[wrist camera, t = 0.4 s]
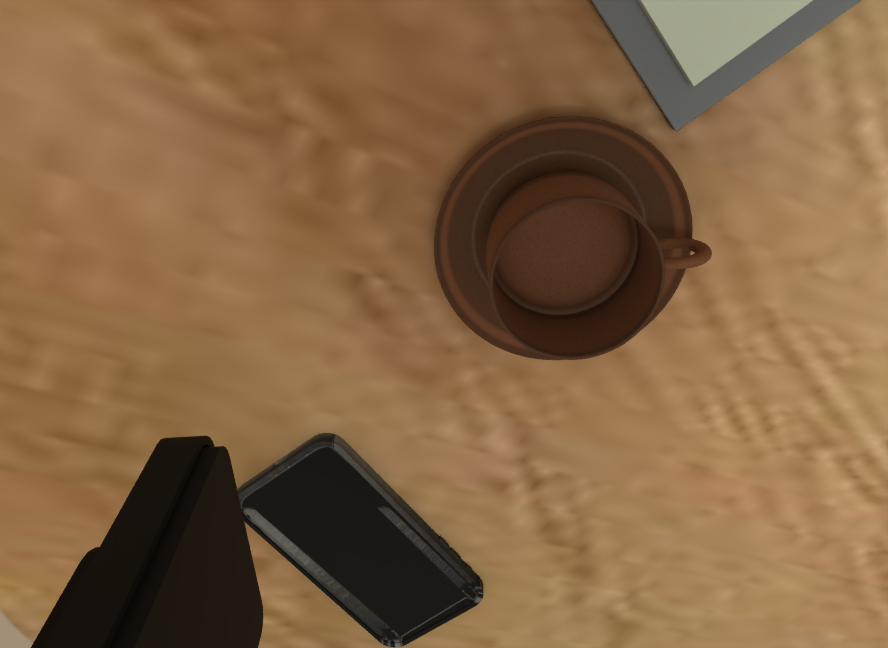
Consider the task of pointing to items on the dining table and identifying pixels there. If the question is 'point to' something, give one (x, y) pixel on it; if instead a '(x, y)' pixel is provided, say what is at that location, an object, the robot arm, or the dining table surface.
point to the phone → (359, 541)
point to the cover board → (714, 29)
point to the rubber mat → (688, 101)
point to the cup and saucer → (564, 238)
